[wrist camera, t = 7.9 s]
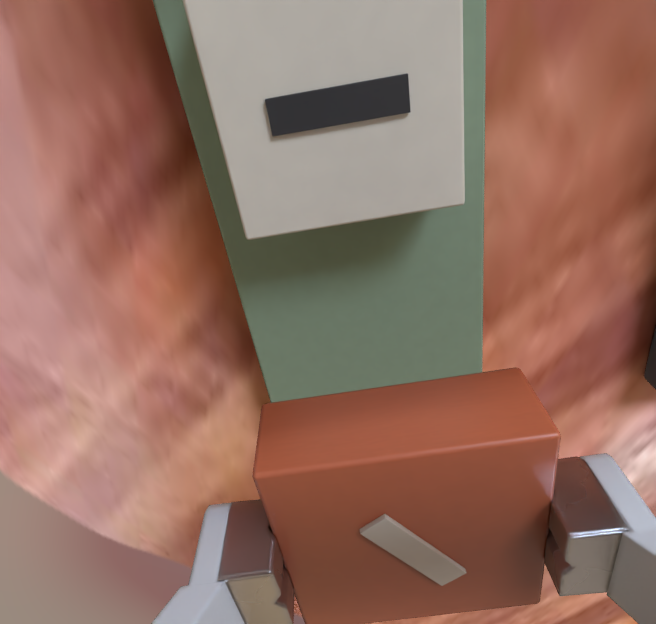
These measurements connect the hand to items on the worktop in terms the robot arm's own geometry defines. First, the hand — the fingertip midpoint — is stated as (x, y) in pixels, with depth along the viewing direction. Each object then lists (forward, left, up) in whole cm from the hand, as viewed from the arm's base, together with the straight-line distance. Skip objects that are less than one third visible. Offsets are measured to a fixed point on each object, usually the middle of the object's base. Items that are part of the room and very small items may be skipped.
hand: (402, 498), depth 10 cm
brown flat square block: (0, 0, -1) cm, 1 cm away
